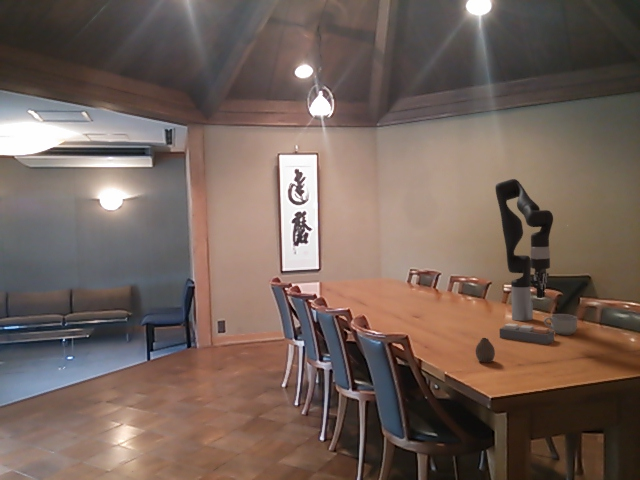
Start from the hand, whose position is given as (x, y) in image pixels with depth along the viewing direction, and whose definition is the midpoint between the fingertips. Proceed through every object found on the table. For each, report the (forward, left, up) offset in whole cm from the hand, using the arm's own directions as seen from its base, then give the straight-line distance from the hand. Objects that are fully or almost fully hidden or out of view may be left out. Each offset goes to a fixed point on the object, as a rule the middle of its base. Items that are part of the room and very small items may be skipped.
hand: (540, 297), depth 207 cm
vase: (+38, +14, -19) cm, 45 cm away
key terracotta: (0, 0, -16) cm, 16 cm away
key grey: (+3, -6, -16) cm, 17 cm away
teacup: (-17, -8, -19) cm, 27 cm away
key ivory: (+6, -11, -16) cm, 21 cm away
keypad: (+3, -6, -19) cm, 20 cm away
